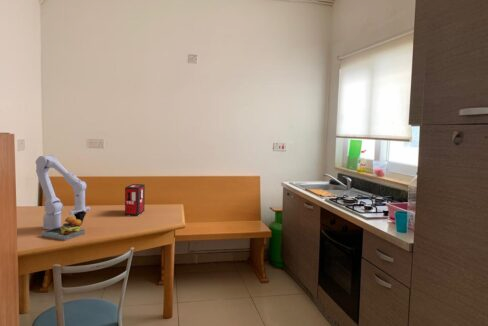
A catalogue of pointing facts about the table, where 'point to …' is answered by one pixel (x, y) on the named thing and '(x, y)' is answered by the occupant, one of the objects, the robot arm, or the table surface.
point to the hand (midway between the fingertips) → (80, 224)
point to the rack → (54, 235)
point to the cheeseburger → (71, 226)
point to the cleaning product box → (134, 199)
